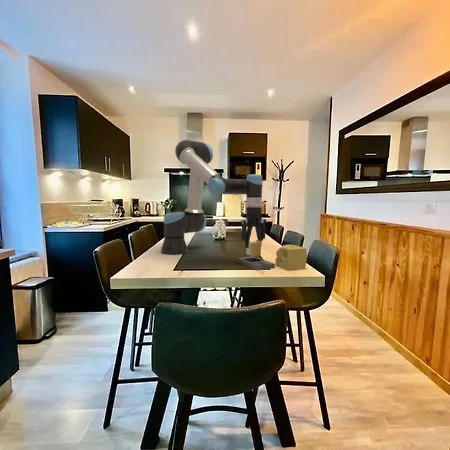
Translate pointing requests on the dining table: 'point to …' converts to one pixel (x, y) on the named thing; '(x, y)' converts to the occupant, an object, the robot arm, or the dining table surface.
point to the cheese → (291, 257)
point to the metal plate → (256, 263)
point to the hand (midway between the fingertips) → (253, 253)
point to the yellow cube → (255, 249)
